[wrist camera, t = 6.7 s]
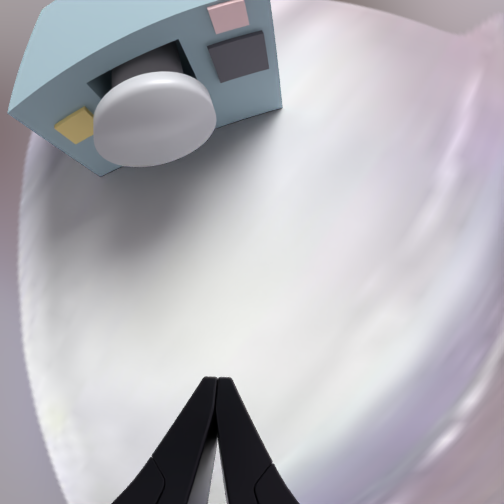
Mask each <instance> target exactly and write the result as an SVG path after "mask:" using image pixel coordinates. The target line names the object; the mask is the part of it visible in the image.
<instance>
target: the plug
mask: <svg viewBox="0 0 504 504" xmlns="http://www.w3.org/2000/svg"><path fill="white" fill-rule="evenodd" d="M111 73H112V89H111V90H110V91H109V92H108V93H107V94H106V95H105V96H104V97H103V98H102V99H101V101H100V102H99V104H98V105H97V107H96V110H95V112H94V117H93V134H94V145H95V148H96V150H97V152H98V153H99V154H100V155H101V156H102V157H103V158H104V159H106V160H107V161H109V162H112V163H114V164H117V165H121V166H127V167H148V166H155V165H160V164H165V163H168V162H171V161H174V160H177V159H179V158H182V157H184V156H186V155H188V154H190V153H191V152H193V151H195V150H196V149H197V148H199V147H200V146H201V145H202V144H204V143H205V142H206V141H207V140H208V139H209V137H210V136H211V134H212V133H213V131H214V129H215V126H216V113H215V110H214V107H213V104H212V100H211V97H210V94H209V92H208V90H207V88H206V87H205V86H204V85H203V84H202V83H201V82H200V81H198V80H197V79H195V78H193V77H191V76H188V75H186V74H184V73H183V69H182V65H181V61H180V57H179V53H178V49H177V45H176V41H172V42H170V43H167V44H165V45H162V46H160V47H158V48H155V49H153V50H151V51H148V52H146V53H144V54H142V55H139V56H137V57H135V58H133V59H131V60H129V61H127V62H125V63H123V64H121V65H119V66H117V67H115V68H113V69H111Z"/></svg>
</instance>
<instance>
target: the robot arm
mask: <svg viewBox="0 0 504 504" xmlns="http://www.w3.org/2000/svg"><path fill="white" fill-rule="evenodd" d="M217 440H218V444H219V453H220V460H221V467H222V475H223V482H224V488H225V495H226V501H227V504H299V502H298V501H297V500H296V499H295V497H294V496H293V494H292V493H291V492H290V490H289V489H288V487H287V486H286V484H285V483H284V481H283V479H282V478H281V476H280V474H279V472H278V471H277V469H276V467H275V465H274V464H273V463H272V460H271V458H270V456H269V454H268V452H267V450H266V448H265V446H264V444H263V442H262V440H261V438H260V436H259V434H258V432H257V430H256V428H255V426H254V424H253V422H252V420H251V418H250V416H249V414H248V412H247V410H246V408H245V405H244V403H243V401H242V399H241V397H240V395H239V393H238V391H237V388H236V386H235V384H234V382H233V380H232V378H230V377H219V378H217V377H207V376H206V377H204V378H203V379H202V381H201V382H200V384H199V385H198V387H197V388H196V390H195V391H194V393H193V394H192V396H191V397H190V399H189V400H188V402H187V403H186V405H185V407H184V408H183V410H182V411H181V413H180V414H179V416H178V417H177V419H176V420H175V422H174V423H173V425H172V426H171V428H170V429H169V431H168V432H167V434H166V435H165V436H164V438H163V439H162V441H161V442H160V444H159V445H158V447H157V448H156V450H155V451H154V453H153V454H152V457H150V458H149V460H148V461H147V463H146V464H145V466H144V467H143V468H142V470H141V471H140V472H139V474H138V475H137V476H136V478H135V479H134V480H133V481H132V482H131V483H130V485H129V486H128V487H127V488H126V489H125V490H124V491H123V492H122V493H121V494H120V495H119V496H118V497H117V498H116V499H115V500H114V501H113V503H112V504H207V503H208V497H209V491H210V485H211V479H212V472H213V466H214V460H215V454H216V448H217Z"/></svg>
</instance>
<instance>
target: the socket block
mask: <svg viewBox="0 0 504 504" xmlns="http://www.w3.org/2000/svg"><path fill="white" fill-rule="evenodd" d="M172 41H176V45H177V49H178V53H179V57H180V61H181V65H182V69H183V73H184V74H186V75H188V76H191V77H193V78H195V79H197V80H198V81H200V82H201V83H202V84H203V85H204V86H205V87H206V88H207V90H208V92H209V94H210V97H211V100H212V104H213V107H214V110H215V113H216V126H215V128H218V127H221V126H224V125H227V124H230V123H233V122H236V121H239V120H242V119H245V118H249V117H252V116H255V115H258V114H262V113H265V112H269V111H272V110H276V109H279V108H282V98H281V88H280V79H279V69H278V60H277V51H276V43H275V35H274V27H273V19H272V11H271V4H270V0H55V1H54V2H52V3H51V4H49V5H48V6H46V7H45V8H44V9H42V11H41V13H40V15H39V18H38V20H37V22H36V25H35V27H34V29H33V32H32V35H31V37H30V40H29V42H28V45H27V48H26V50H25V53H24V56H23V59H22V62H21V65H20V68H19V71H18V75H17V78H16V82H15V85H14V88H13V92H12V96H11V100H10V104H9V108H8V114H9V115H11V116H12V117H13V118H15V119H16V120H18V121H19V122H21V123H22V124H23V125H25V126H26V127H28V128H29V129H31V130H32V131H34V132H35V133H36V134H38V135H39V136H41V137H42V138H44V139H45V140H47V141H48V142H50V143H51V144H52V145H54V146H55V147H57V148H58V149H60V150H61V151H63V152H64V153H66V154H67V155H69V156H70V157H72V158H73V159H75V160H76V161H78V162H79V163H81V164H82V165H84V166H85V167H86V168H88V169H89V170H91V171H92V172H94V173H95V174H97V175H98V176H100V177H101V176H103V175H105V174H107V173H109V172H111V171H113V170H115V169H117V168H119V167H122V166H121V165H117V164H114V163H112V162H109V161H107V160H106V159H104V158H103V157H102V156H101V155H100V154H99V153H98V152H97V150H96V148H95V145H94V134H93V117H94V112H95V110H96V107H97V105H98V104H99V102H100V101H101V99H102V98H103V97H104V96H105V95H106V94H107V93H108V92H109V91H110V90H111V89H112V73H111V69H113V68H115V67H117V66H119V65H121V64H123V63H125V62H127V61H129V60H131V59H133V58H135V57H137V56H139V55H142V54H144V53H146V52H148V51H151V50H153V49H155V48H158V47H160V46H162V45H165V44H167V43H170V42H172Z"/></svg>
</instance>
